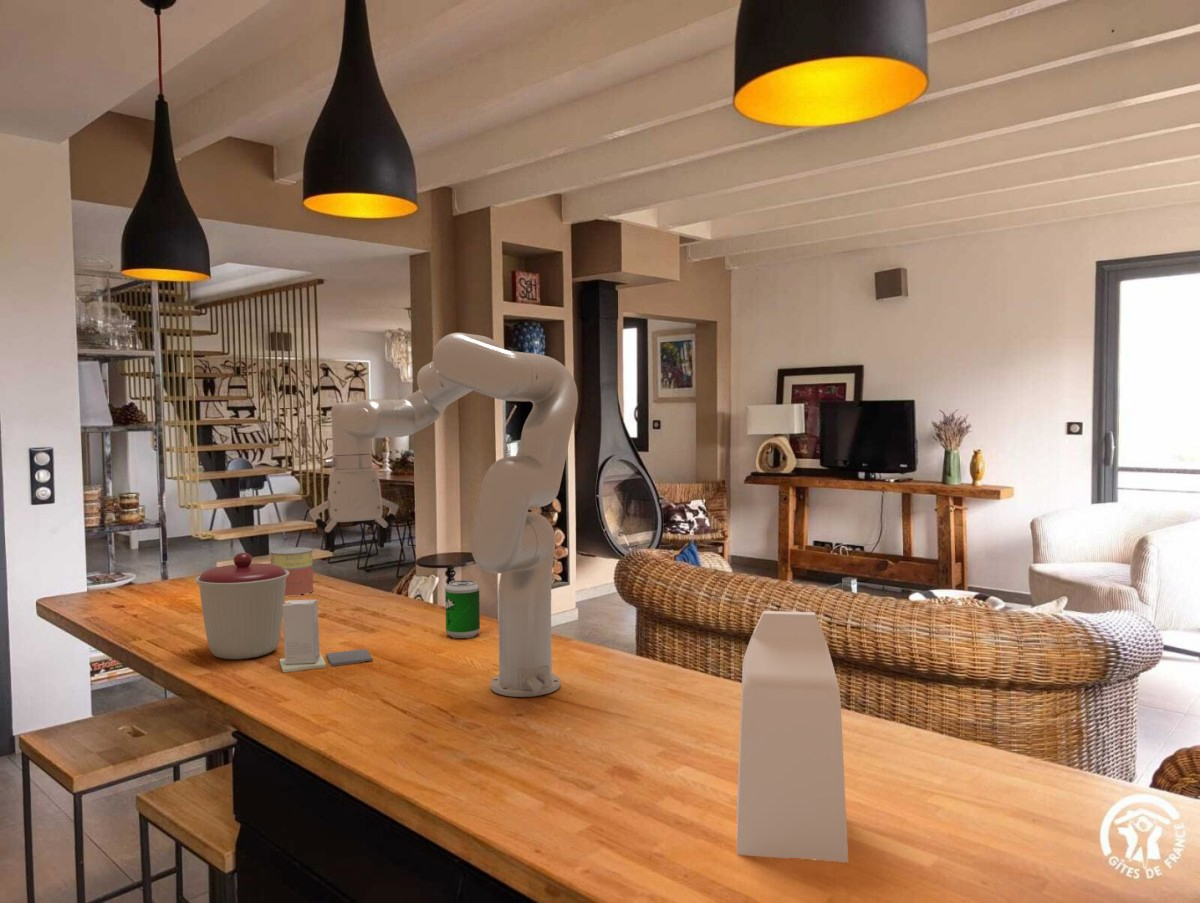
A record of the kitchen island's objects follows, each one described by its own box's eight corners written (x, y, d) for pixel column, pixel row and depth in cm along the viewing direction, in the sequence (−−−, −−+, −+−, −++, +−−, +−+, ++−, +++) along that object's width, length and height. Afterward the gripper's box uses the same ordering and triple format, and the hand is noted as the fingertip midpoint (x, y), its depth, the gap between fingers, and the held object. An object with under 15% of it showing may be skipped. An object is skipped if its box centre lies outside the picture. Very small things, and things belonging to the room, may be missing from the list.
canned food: (318, 588, 248) (317, 546, 247) (307, 596, 236) (306, 553, 236) (278, 589, 247) (277, 547, 246) (265, 597, 236) (264, 553, 235)
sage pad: (326, 667, 169) (326, 664, 169) (282, 672, 165) (282, 669, 165) (321, 656, 176) (321, 654, 176) (279, 661, 173) (279, 658, 172)
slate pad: (372, 661, 172) (372, 658, 172) (331, 666, 169) (331, 663, 169) (365, 651, 180) (365, 648, 180) (326, 656, 176) (326, 653, 176)
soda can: (483, 631, 196) (482, 579, 195) (475, 640, 188) (474, 586, 188) (451, 631, 197) (450, 579, 196) (441, 639, 189) (441, 585, 189)
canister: (211, 671, 166) (208, 563, 166) (186, 652, 180) (184, 552, 179) (303, 654, 178) (301, 553, 177) (274, 637, 192) (271, 543, 191)
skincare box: (320, 658, 173) (319, 598, 172) (315, 664, 169) (314, 603, 168) (288, 659, 172) (287, 599, 172) (283, 665, 168) (281, 604, 167)
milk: (736, 854, 96) (736, 623, 94) (736, 808, 107) (736, 600, 106) (848, 862, 94) (849, 626, 93) (836, 814, 105) (837, 603, 104)
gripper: (310, 466, 164) (314, 555, 165) (400, 462, 172) (404, 547, 172) (305, 465, 171) (308, 551, 172) (392, 461, 179) (395, 543, 179)
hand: (356, 549), depth 172 cm, fingers open, 9 cm apart
